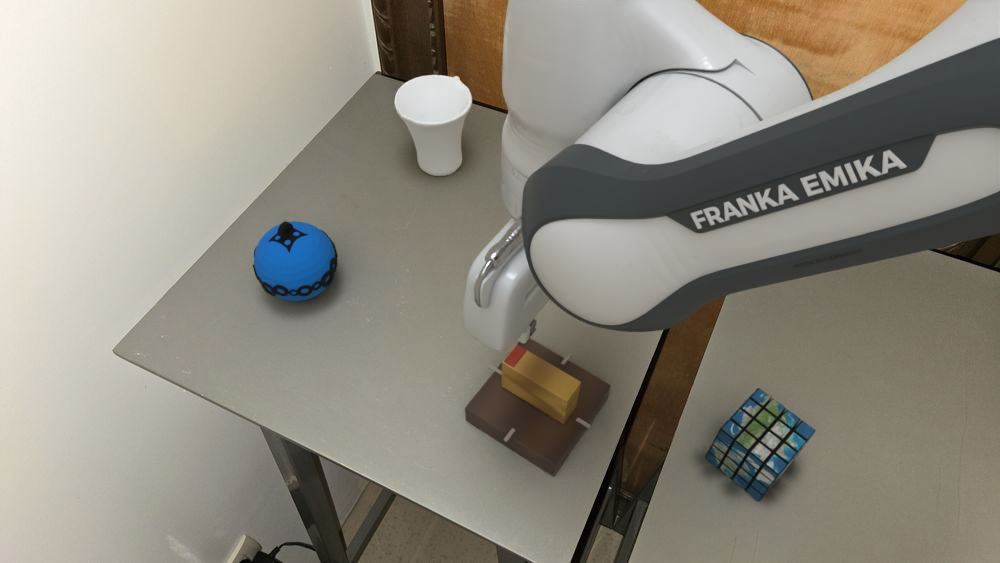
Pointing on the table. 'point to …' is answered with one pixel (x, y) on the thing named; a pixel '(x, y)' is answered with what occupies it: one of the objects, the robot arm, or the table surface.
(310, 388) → the table surface
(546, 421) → the stamp base
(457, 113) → the cup
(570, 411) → the stamp
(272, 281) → the ornament
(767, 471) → the puzzle
